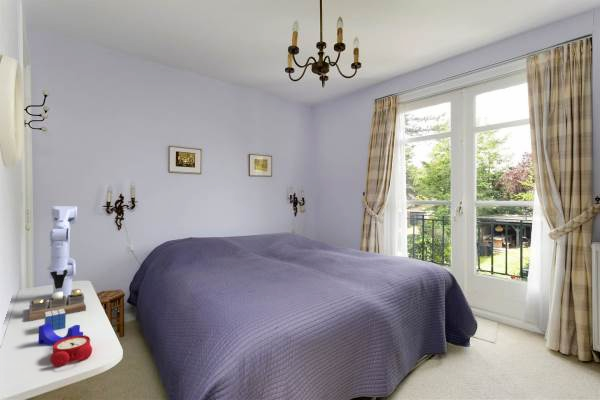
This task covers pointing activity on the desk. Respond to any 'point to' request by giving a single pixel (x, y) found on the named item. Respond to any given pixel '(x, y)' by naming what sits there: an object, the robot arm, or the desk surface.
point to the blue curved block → (51, 338)
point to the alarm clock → (71, 350)
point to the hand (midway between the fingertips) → (58, 288)
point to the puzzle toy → (56, 319)
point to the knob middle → (57, 295)
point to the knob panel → (56, 306)
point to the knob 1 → (38, 301)
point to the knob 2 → (75, 292)
